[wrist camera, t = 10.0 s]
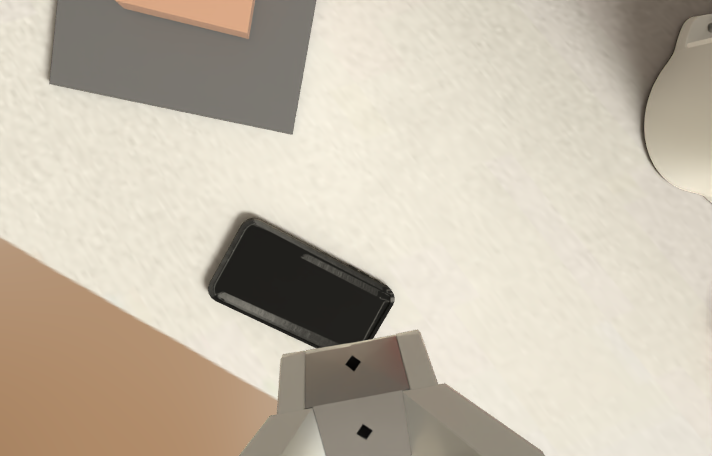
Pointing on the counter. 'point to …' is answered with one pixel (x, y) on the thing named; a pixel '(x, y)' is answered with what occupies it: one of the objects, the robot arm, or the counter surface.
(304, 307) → the phone
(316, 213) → the counter surface
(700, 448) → the counter surface
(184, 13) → the tile
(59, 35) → the mat
